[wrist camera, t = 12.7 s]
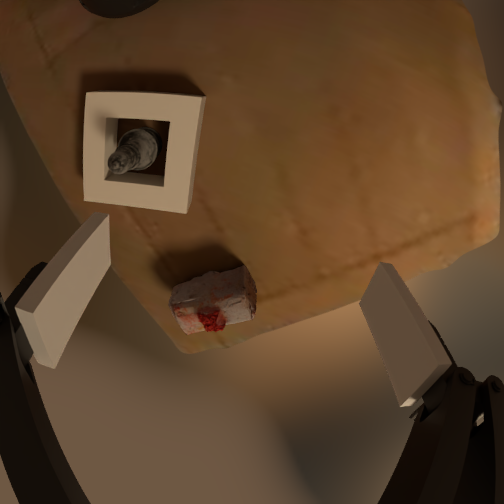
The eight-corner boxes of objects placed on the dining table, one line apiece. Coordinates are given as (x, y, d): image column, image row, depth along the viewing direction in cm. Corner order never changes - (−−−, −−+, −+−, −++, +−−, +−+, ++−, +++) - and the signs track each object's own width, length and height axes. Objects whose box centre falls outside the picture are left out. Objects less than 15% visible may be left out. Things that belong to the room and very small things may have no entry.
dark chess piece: (161, 165, 41) (135, 194, 31) (125, 161, 41) (90, 189, 30) (166, 126, 38) (138, 143, 28) (128, 123, 38) (90, 140, 27)
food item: (191, 309, 56) (184, 348, 48) (171, 278, 52) (160, 316, 44) (259, 290, 54) (261, 330, 46) (243, 255, 50) (243, 293, 42)
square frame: (100, 90, 34) (86, 92, 31) (206, 96, 36) (201, 97, 32) (96, 189, 43) (84, 200, 39) (191, 201, 45) (186, 213, 41)
